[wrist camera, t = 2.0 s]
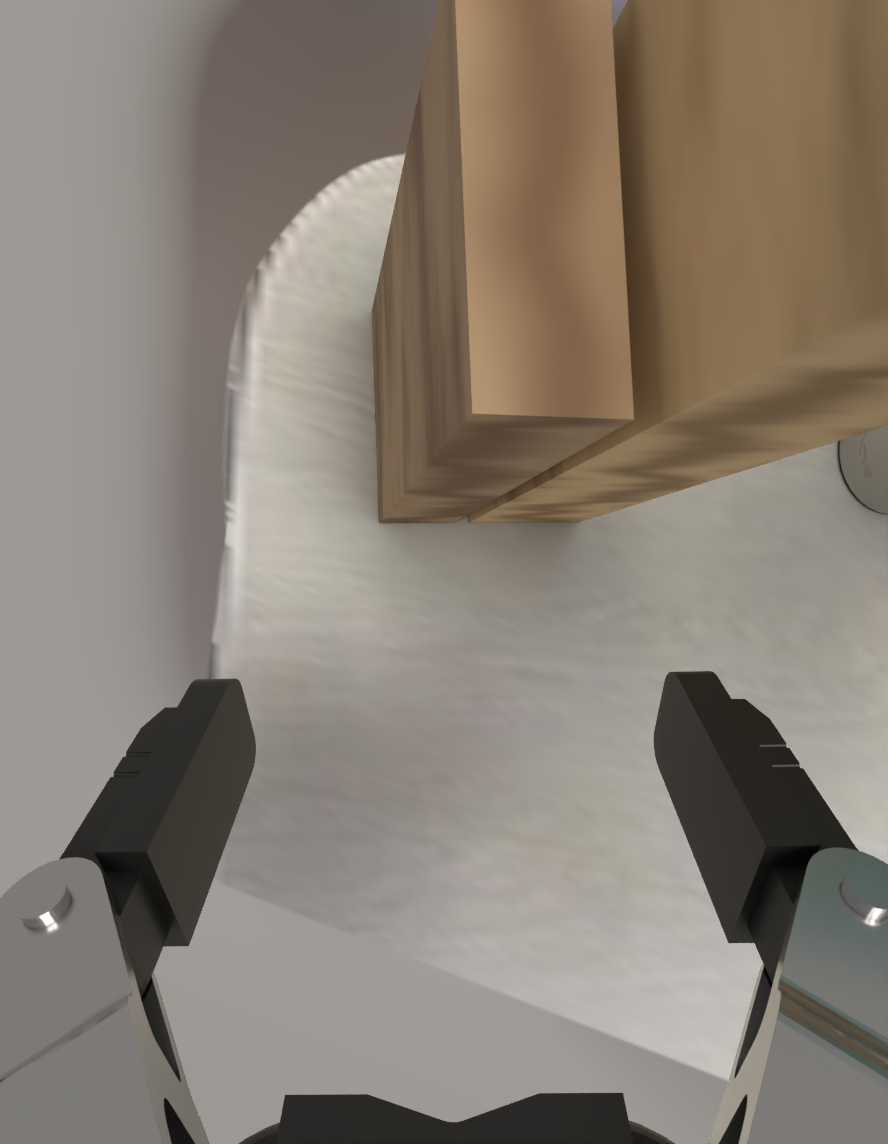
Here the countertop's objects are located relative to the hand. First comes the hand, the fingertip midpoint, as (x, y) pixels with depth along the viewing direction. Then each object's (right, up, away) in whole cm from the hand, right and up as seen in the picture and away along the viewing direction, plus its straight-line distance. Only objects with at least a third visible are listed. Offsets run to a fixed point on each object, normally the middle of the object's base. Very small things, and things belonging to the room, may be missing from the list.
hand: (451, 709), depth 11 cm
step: (-2, +13, +27) cm, 30 cm away
